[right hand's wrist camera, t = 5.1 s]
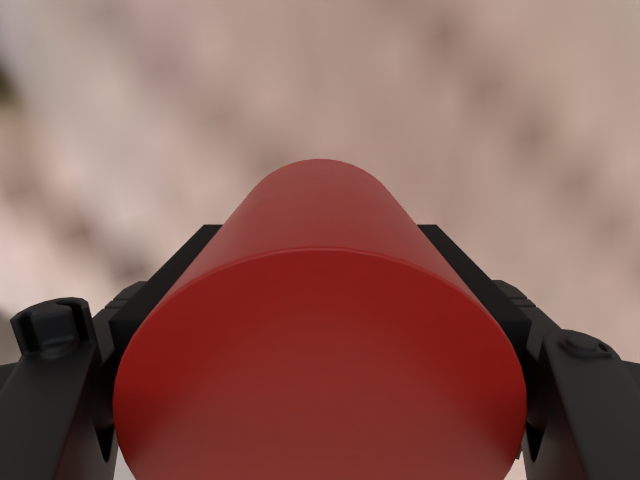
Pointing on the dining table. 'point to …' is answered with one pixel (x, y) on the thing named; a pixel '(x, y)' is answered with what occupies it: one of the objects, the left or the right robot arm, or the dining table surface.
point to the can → (319, 350)
